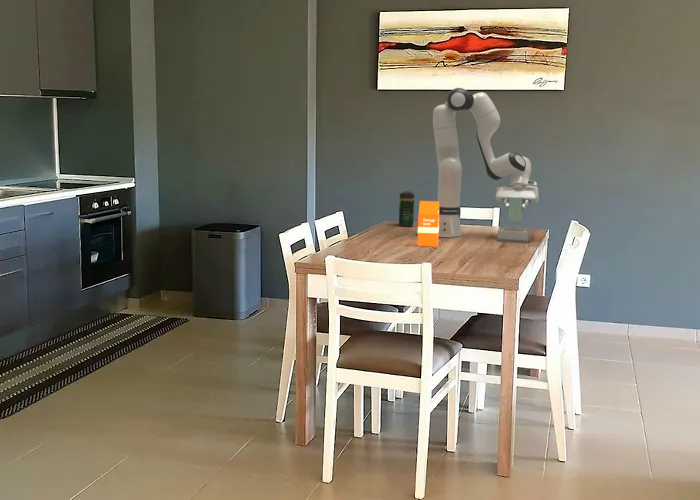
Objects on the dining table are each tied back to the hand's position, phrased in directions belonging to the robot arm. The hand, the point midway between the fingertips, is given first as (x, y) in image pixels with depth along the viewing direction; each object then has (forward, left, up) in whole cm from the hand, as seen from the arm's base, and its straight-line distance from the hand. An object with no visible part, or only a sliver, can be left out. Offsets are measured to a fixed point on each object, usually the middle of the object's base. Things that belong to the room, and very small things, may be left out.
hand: (515, 208), depth 365 cm
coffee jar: (-47, +49, -16) cm, 70 cm away
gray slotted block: (0, +1, -16) cm, 16 cm away
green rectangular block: (0, +1, -6) cm, 6 cm away
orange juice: (-42, -14, -16) cm, 48 cm away
